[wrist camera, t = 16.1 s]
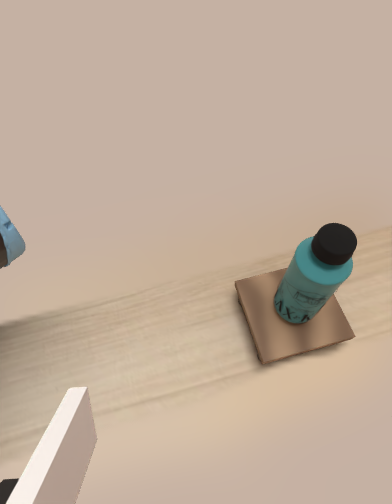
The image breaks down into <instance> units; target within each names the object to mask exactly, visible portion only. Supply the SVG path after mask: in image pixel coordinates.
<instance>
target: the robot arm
mask: <svg viewBox="0 0 392 504" xmlns="http://www.w3.org/2000/svg"><path fill="white" fill-rule="evenodd" d="M24 251H25V242H24V240H23V239H22V237H21V236H20V234H19V232H18V231H17V229H16V228H15V226H14V225H13V224H12V223H11V221H10V219H9V218H8V216H7V214H6V213H5V212H4V210H3V209H2V208H1V206H0V268H2V267H6V266H8V265H10V263H11V262H12V261H13V260H14V259H16V258H17V257H19V256H20V255H22V253H23V252H24ZM96 442H97V436H96V431H95V426H94V420H93V415H92V410H91V404H90V399H89V394H88V388H87V387H76V388H69V389H68V391H67V393H66V395H65V396H64V398H63V400H62V402H61V404H60V406H59V407H58V409H57V411H56V413H55V415H54V417H53V418H52V420H51V422H50V424H49V426H48V428H47V429H46V431H45V433H44V435H43V437H42V438H41V440H40V442H39V444H38V446H37V448H36V449H35V451H34V453H33V455H32V457H31V459H30V460H29V462H28V464H27V466H26V468H25V470H24V471H23V473H22V475H21V477H20V478H19V479H5V480H3V481H2V482H1V483H0V504H75V503H76V500H77V497H78V494H79V491H80V488H81V485H82V483H83V479H84V477H85V474H86V471H87V468H88V465H89V462H90V459H91V456H92V453H93V450H94V447H95V444H96Z"/></svg>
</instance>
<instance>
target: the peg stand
mask: <svg viewBox="0 0 392 504" xmlns="http://www.w3.org/2000/svg"><path fill="white" fill-rule="evenodd" d="M287 269H288V268H285V269H281V270H277V271H273V272H269V273H265V274H262V275H258V276H254V277H250V278H246V279H242V280H238V281H235V287H236V290H237V293H238V296H239V304H240V305H241V306H242V307H243V310H244V313H245V316H246V319H247V322H248V325H249V327H250V330H251V333H252V336H253V339H254V342H255V345H256V347H257V350H258V359H259V360H260V361H261V362H262V364H266V363H269V362H273V361H276V360H280V359H283V358H287V357H290V356H294V355H297V354H301V353H304V352H308V351H311V350H315V349H319V348H322V347H326V346H329V345H333V344H336V343H340V342H343V341H347V340H350V339H352V338H354V337H355V335H354V333H353V331H352V329H351V327H350V325H349V323H348V321H347V319H346V317H345V315H344V313H343V311H342V309H341V307H340V305H339V303H338V301H337V300H336V298H335V296H334V294H333V295H332V296H331V297H330V298H331V299H330V298H329V299H328V300H327V302H326V303H325V305H324V306H323V307H322V308H321V309H320V311H319V313H318V312H317V313H318V314H317V313H316V314H315V315H314V316H313V317H312V318H311V319H310V320H309V321H307V322H304V323H302V324H301V323H297V324H296V323H291V322H289V321H287V320H285V319H283V318H282V317H281V316H280V315H279V314H278V312H277V311H276V308H275V307H274V306H275V304H274V303H273V302H274V298H273V297H274V296H275V294H276V292H277V290H276V289H278V288H277V287H279V286H278V285H279V284H280V283H281V282H280V281H282V280H281V279H283V277H284V275H285V273H286V270H287ZM282 276H283V277H282Z"/></svg>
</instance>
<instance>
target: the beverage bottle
mask: <svg viewBox="0 0 392 504" xmlns="http://www.w3.org/2000/svg"><path fill="white" fill-rule="evenodd" d="M356 246H357V238H356V236H355V234H354V233H353V231H352V230H351V229H350V228H348V227H347V226H345V225H342V224H338V223H330V224H326V225H324V226H323V227H321V228H320V230H319V231H318V232H317V234H316V235H315V236H313V237H310V238H307V239H305V240H304V241H302V242H301V243H300V244H299V245H298V247H297V249H296V251H295V255H294V257H293V259H292V261H291V263H290V265H289V267H288V269H287V270H286V273H285V275H284V277H283V276H282V277H283V279H281V280H282V281H280V282H281V283H280V284H279V285H278V286H279V287H277V288H278V289H276V290H277V292H276V294H275V296H274V297H273V298H274V302H273V303H274V304H275V306H274V307H275V308H276V311H277V312H278V314H279V315H280V316H281V317H282V318H283V319H285V320H287V321H289V322H291V323H296V324H297V323H301V324H302V323H304V322H307V321H309V320H310V319H311V318H312V317H313V316H314V315H315V314H316V313H317V312H318V313H319V311H320V309H321V308H322V307H323V306H324V305H325V303H326V302H327V300H328V299H329V298H330V297H331V296H332V295H333V293H334V292H335V291H336V289H337V288H338V287H339V286H340V285H341V284H342V283H343V282H344V281H345V280H346V279H347V278H348V277H349V275H350V274H351V272H352V268H353V261H352V255H353V252H354V250H355V249H356ZM336 292H337V291H336ZM330 299H331V298H330ZM318 313H317V314H318Z"/></svg>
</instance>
